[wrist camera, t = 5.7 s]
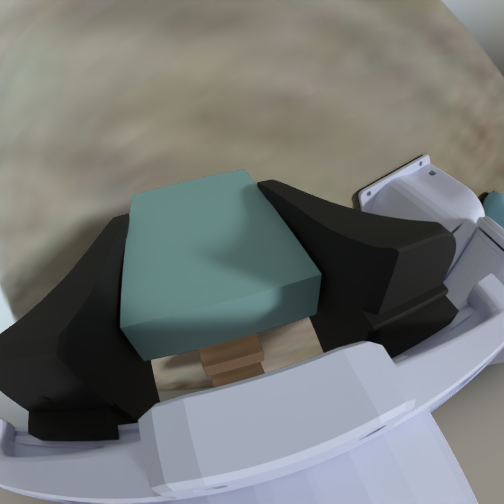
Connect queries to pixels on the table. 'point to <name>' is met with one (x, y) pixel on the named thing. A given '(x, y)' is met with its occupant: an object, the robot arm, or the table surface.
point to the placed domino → (210, 267)
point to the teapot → (494, 207)
